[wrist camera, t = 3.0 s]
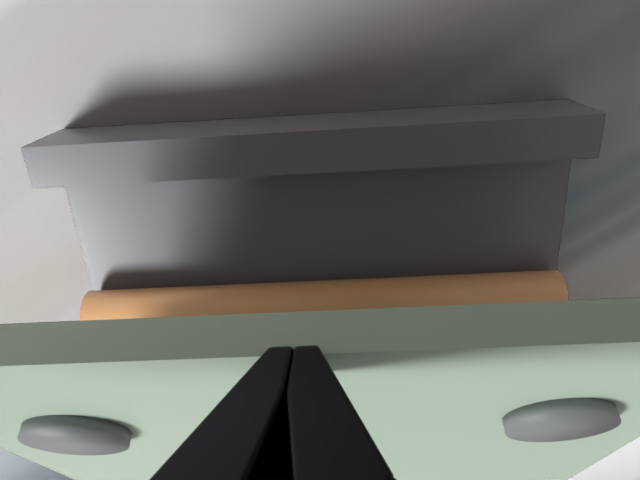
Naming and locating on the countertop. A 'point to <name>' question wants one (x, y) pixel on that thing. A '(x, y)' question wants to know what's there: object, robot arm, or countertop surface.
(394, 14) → the countertop surface
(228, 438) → the robot arm
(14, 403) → the cover
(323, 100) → the countertop surface
